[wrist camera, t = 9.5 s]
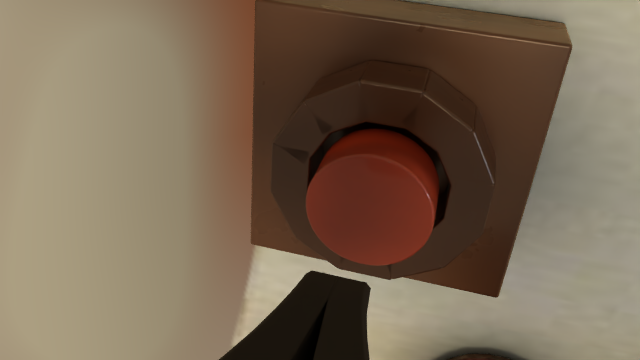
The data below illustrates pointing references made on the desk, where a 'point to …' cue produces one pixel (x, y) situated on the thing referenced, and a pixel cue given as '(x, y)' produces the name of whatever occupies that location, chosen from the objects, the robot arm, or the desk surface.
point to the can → (478, 357)
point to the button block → (405, 120)
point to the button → (374, 197)
